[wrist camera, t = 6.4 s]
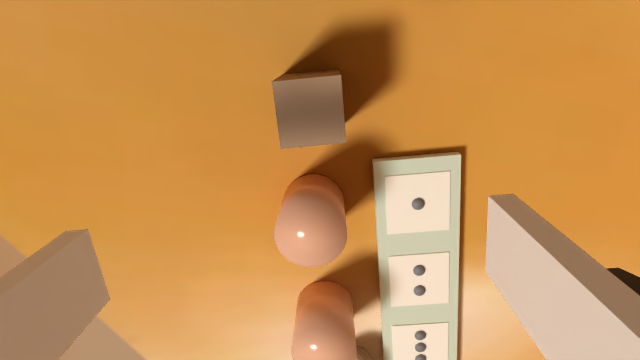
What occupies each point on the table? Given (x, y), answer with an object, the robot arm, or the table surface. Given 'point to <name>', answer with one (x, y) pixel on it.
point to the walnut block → (309, 108)
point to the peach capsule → (311, 221)
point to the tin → (361, 354)
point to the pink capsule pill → (324, 323)
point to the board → (418, 254)
